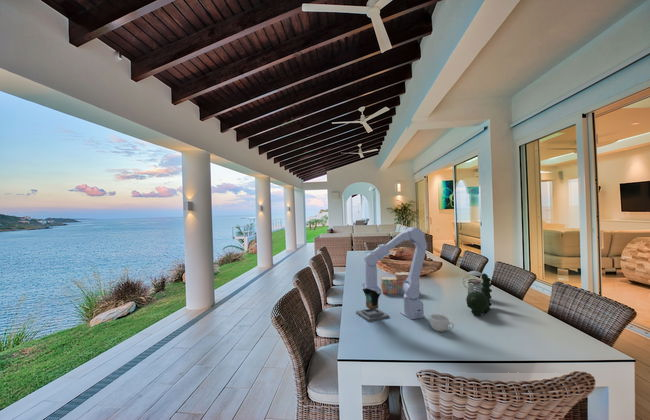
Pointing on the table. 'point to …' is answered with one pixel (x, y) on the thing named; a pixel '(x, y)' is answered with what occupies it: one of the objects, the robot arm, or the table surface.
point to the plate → (372, 314)
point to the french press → (474, 280)
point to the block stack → (370, 302)
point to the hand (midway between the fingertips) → (372, 304)
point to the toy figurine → (480, 297)
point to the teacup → (440, 322)
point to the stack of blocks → (394, 283)
